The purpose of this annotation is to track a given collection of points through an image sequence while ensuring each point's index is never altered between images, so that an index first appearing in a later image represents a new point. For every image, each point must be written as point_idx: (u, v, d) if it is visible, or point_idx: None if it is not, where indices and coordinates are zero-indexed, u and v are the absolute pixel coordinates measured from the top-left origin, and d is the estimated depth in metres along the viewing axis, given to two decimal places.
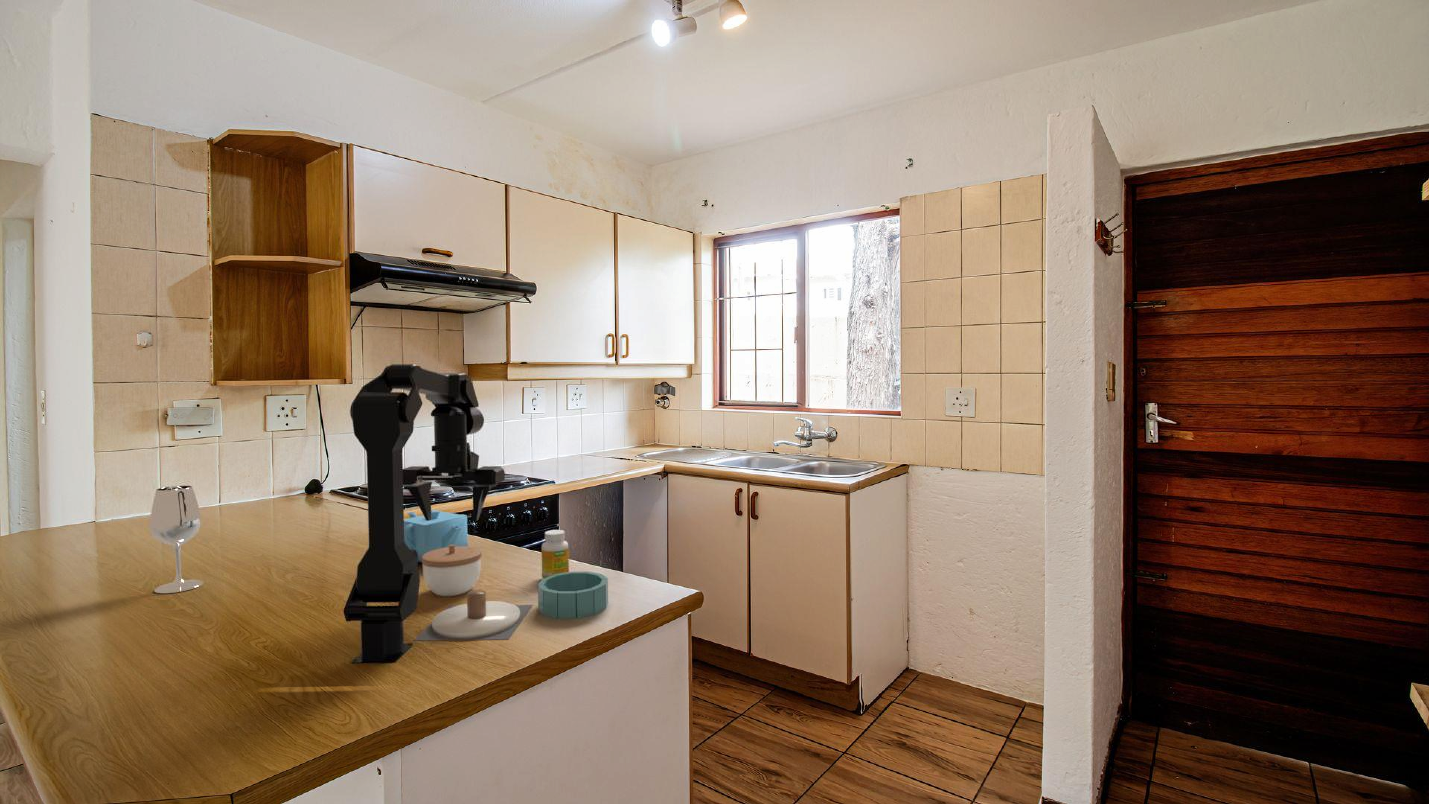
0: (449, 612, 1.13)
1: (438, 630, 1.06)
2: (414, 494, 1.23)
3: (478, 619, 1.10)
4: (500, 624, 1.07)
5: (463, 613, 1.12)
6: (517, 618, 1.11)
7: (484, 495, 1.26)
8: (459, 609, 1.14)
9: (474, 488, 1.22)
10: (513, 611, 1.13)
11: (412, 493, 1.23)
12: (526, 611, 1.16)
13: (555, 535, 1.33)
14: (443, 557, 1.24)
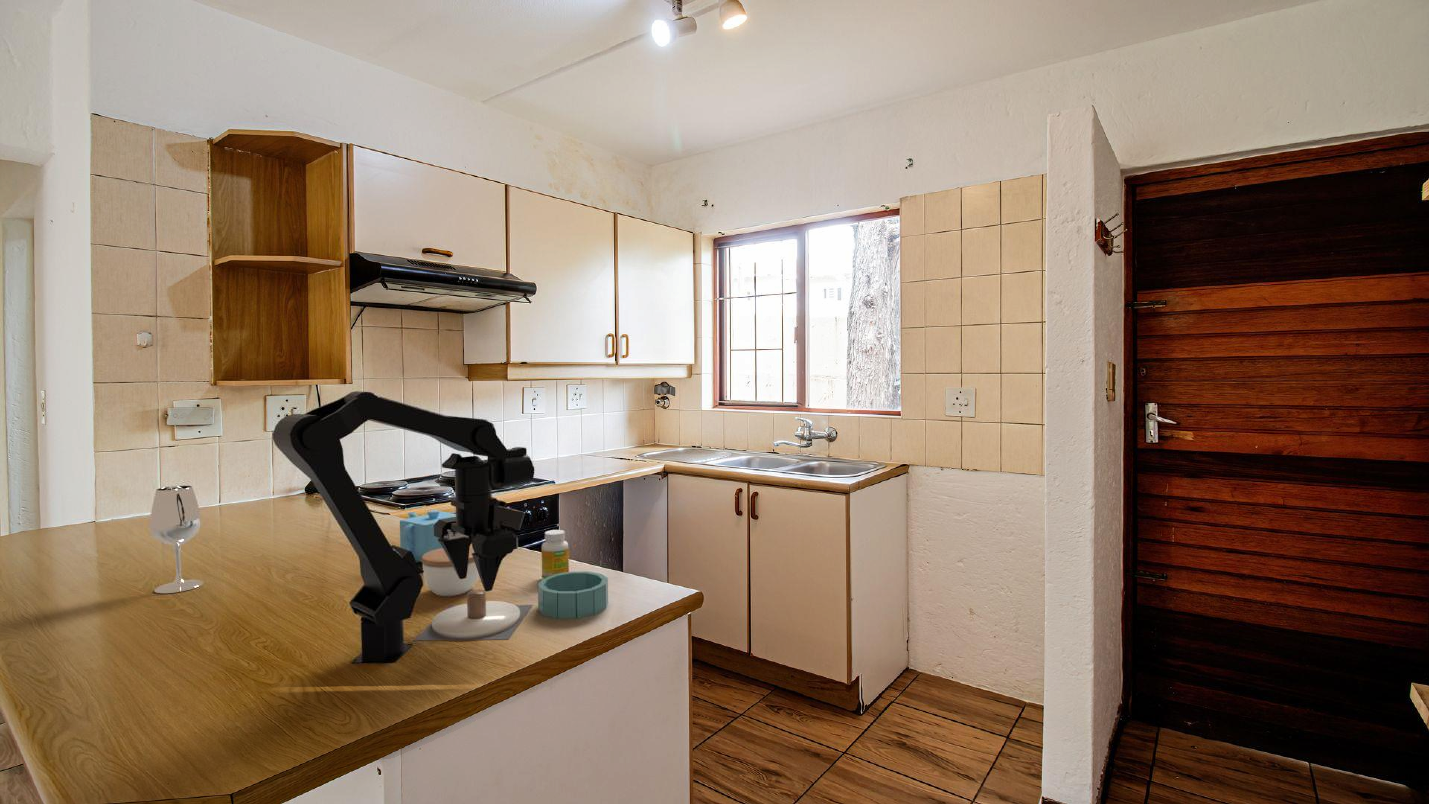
0: (449, 612, 1.13)
1: (438, 630, 1.06)
2: (444, 548, 1.13)
3: (478, 619, 1.10)
4: (500, 624, 1.07)
5: (463, 613, 1.12)
6: (517, 618, 1.11)
7: (496, 563, 1.07)
8: (459, 609, 1.14)
9: (473, 555, 1.05)
10: (513, 610, 1.13)
11: (443, 547, 1.13)
12: (526, 611, 1.16)
13: (555, 535, 1.33)
14: (443, 557, 1.24)
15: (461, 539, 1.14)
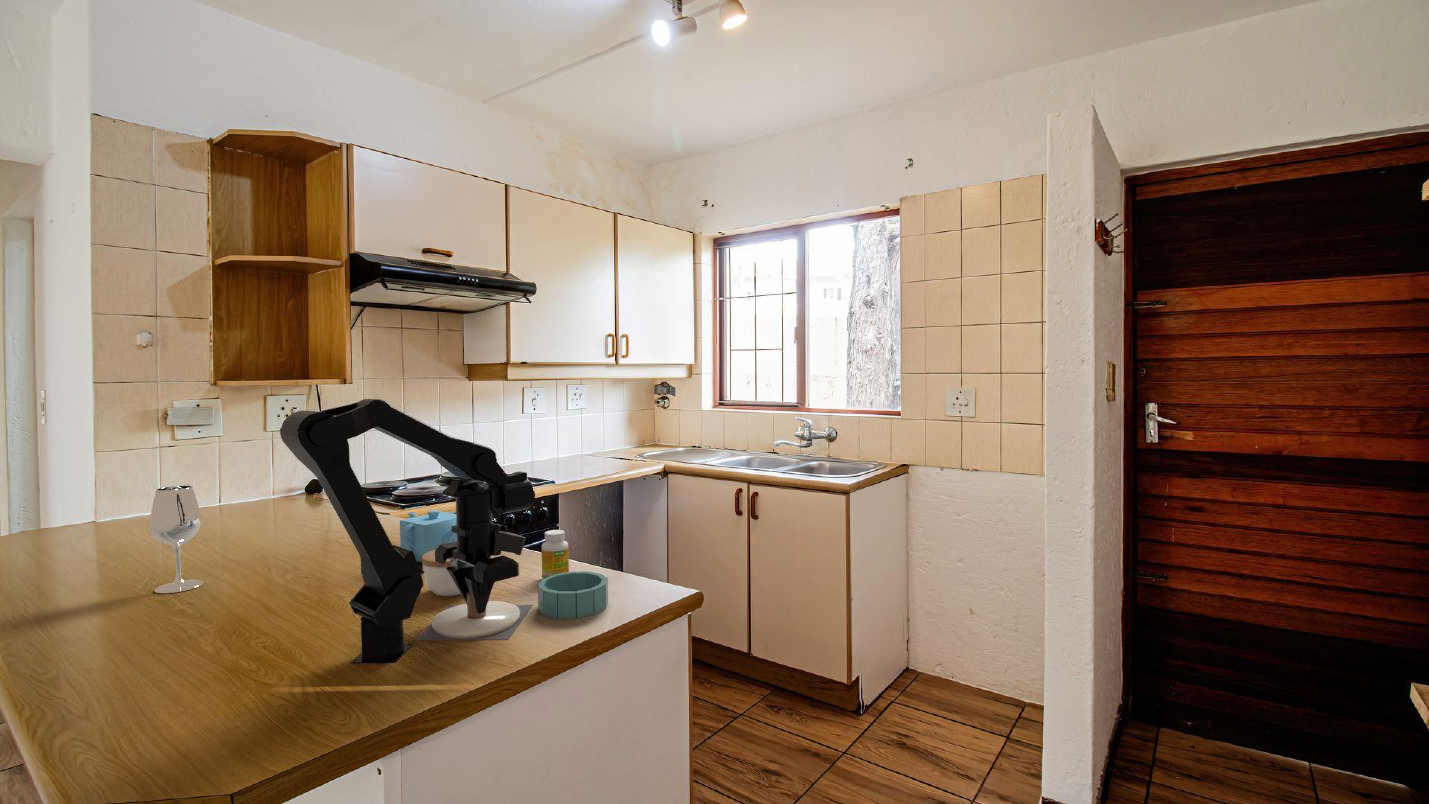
0: (449, 612, 1.13)
1: (438, 630, 1.06)
2: (453, 578, 1.11)
3: (478, 618, 1.10)
4: (500, 624, 1.07)
5: (463, 613, 1.12)
6: (517, 618, 1.11)
7: (488, 586, 1.09)
8: (459, 609, 1.14)
9: (465, 579, 1.07)
10: (513, 610, 1.13)
11: (451, 576, 1.11)
12: (526, 611, 1.16)
13: (555, 535, 1.33)
14: None
15: (470, 568, 1.12)
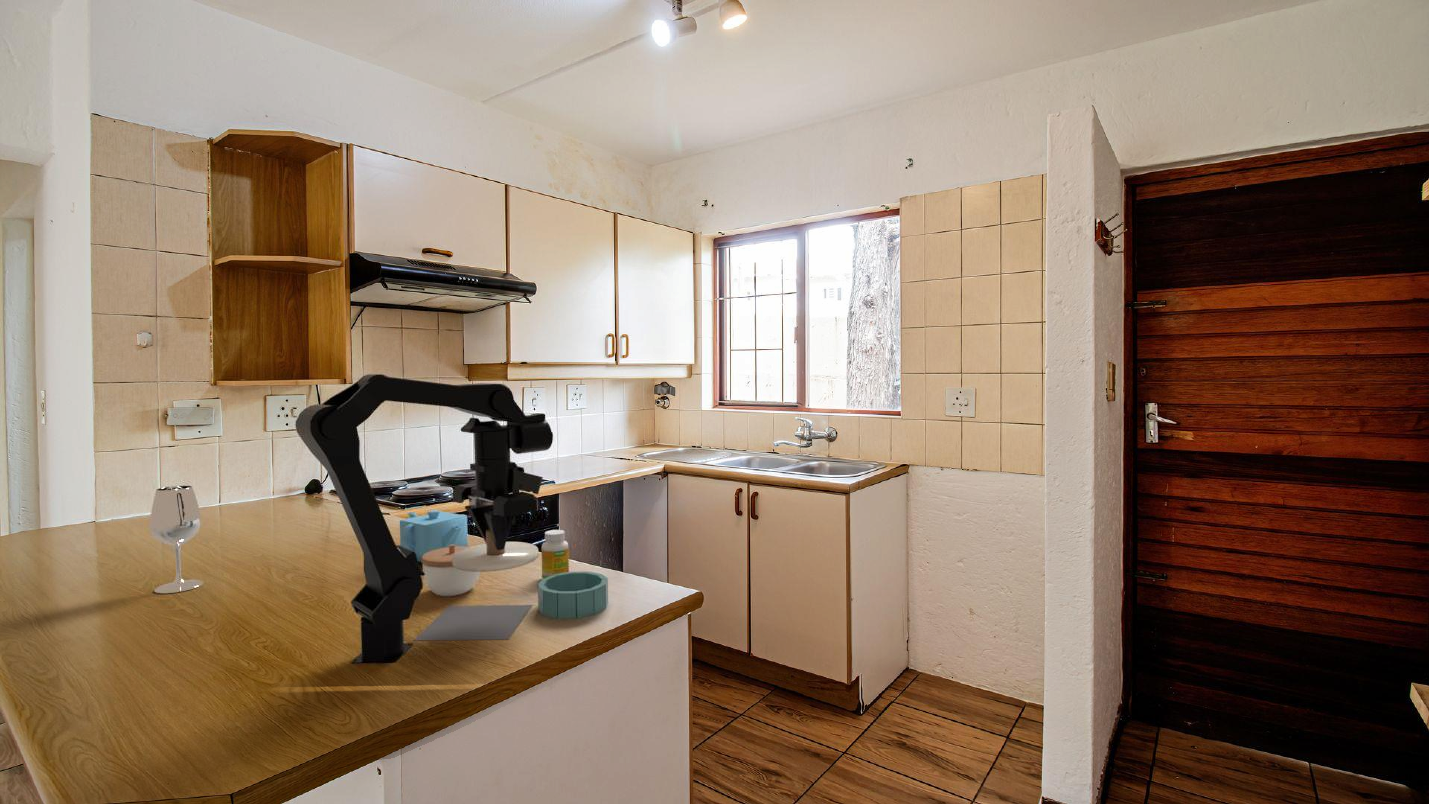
0: (468, 551, 1.14)
1: (459, 564, 1.07)
2: (472, 516, 1.12)
3: (497, 555, 1.11)
4: (520, 559, 1.08)
5: (482, 551, 1.13)
6: (536, 554, 1.12)
7: (507, 523, 1.10)
8: (477, 548, 1.15)
9: (485, 514, 1.08)
10: (531, 548, 1.14)
11: (470, 514, 1.12)
12: (526, 611, 1.16)
13: (555, 535, 1.33)
14: (443, 557, 1.24)
15: (488, 506, 1.13)
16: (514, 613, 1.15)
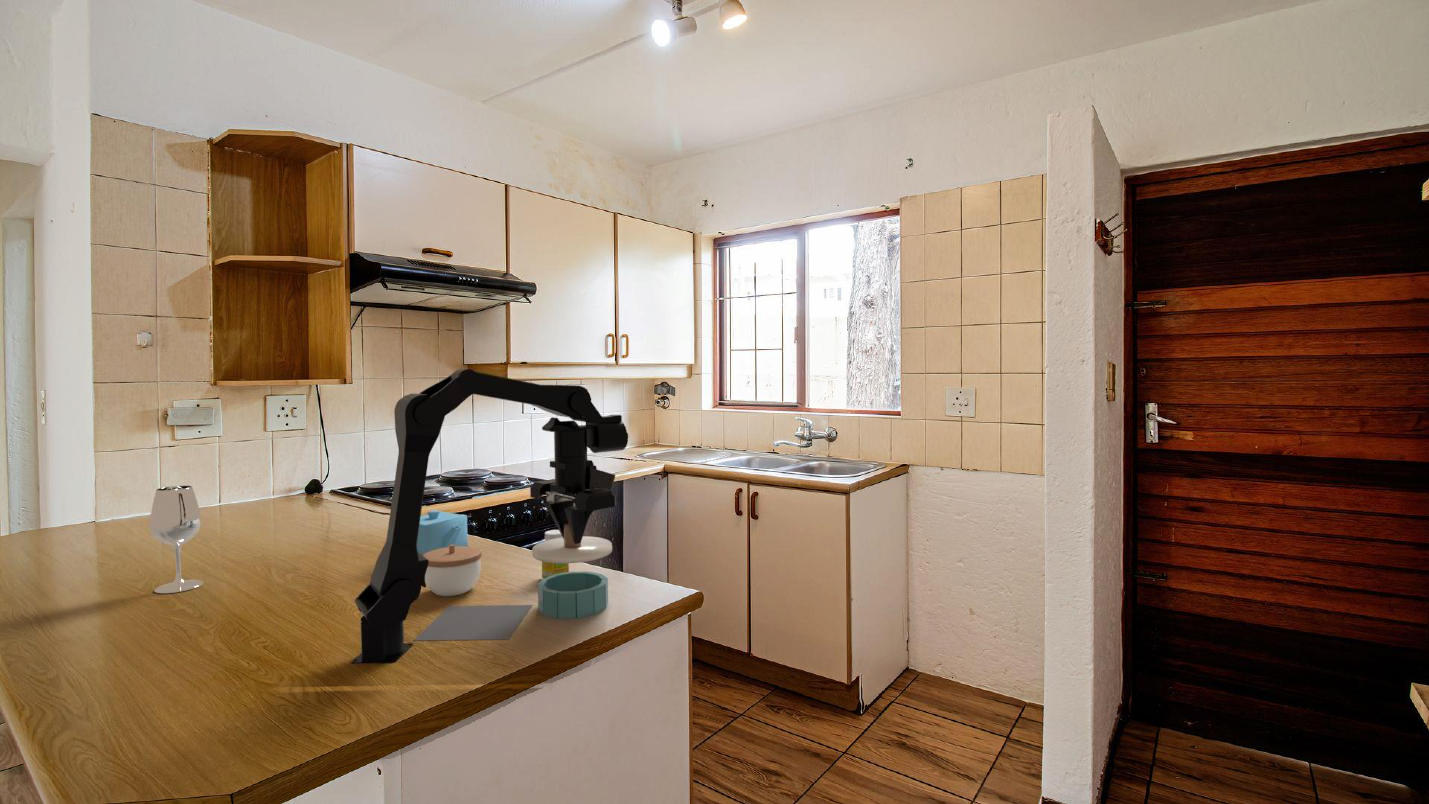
0: (545, 544, 1.19)
1: (541, 556, 1.12)
2: (550, 511, 1.18)
3: (575, 548, 1.17)
4: (598, 552, 1.14)
5: (559, 544, 1.19)
6: (611, 548, 1.18)
7: (585, 518, 1.16)
8: (553, 542, 1.21)
9: (565, 509, 1.14)
10: (605, 542, 1.20)
11: (548, 510, 1.18)
12: (526, 611, 1.16)
13: (555, 535, 1.33)
14: (443, 557, 1.24)
15: (565, 502, 1.19)
16: (514, 613, 1.15)
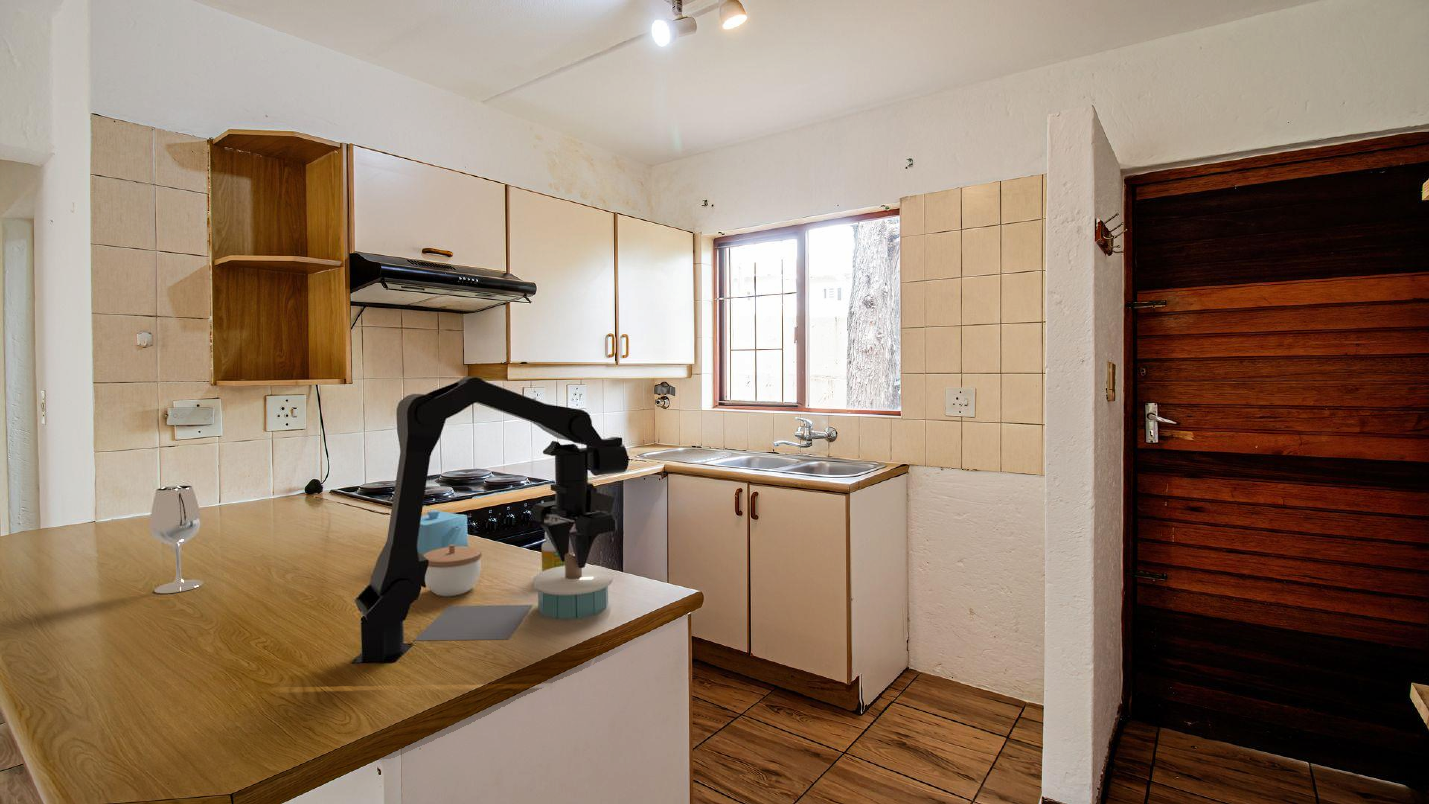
0: (546, 573, 1.20)
1: (542, 588, 1.13)
2: (547, 533, 1.19)
3: (576, 578, 1.17)
4: (598, 583, 1.14)
5: (560, 574, 1.19)
6: (612, 578, 1.18)
7: (589, 542, 1.16)
8: (554, 571, 1.21)
9: (570, 534, 1.13)
10: (606, 572, 1.20)
11: (546, 531, 1.19)
12: (526, 611, 1.16)
13: None
14: (443, 557, 1.24)
15: (562, 524, 1.20)
16: (514, 613, 1.15)
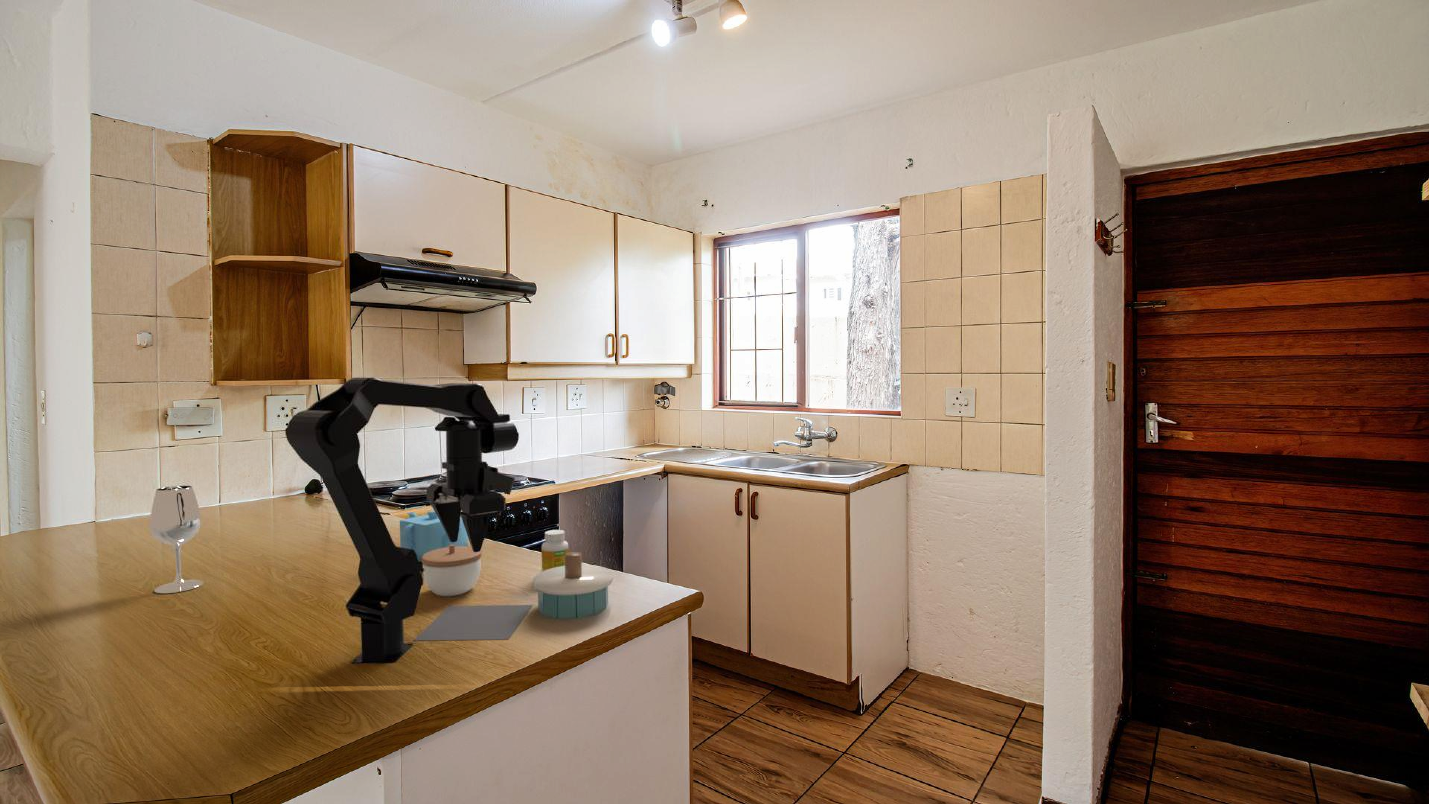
0: (546, 573, 1.20)
1: (542, 588, 1.13)
2: (436, 512, 1.15)
3: (576, 578, 1.17)
4: (598, 583, 1.14)
5: (560, 574, 1.19)
6: (611, 578, 1.18)
7: (484, 524, 1.09)
8: (554, 571, 1.21)
9: (461, 515, 1.07)
10: (606, 572, 1.20)
11: (434, 510, 1.15)
12: (526, 611, 1.16)
13: (555, 535, 1.33)
14: (443, 557, 1.24)
15: (453, 503, 1.16)
16: (514, 613, 1.15)
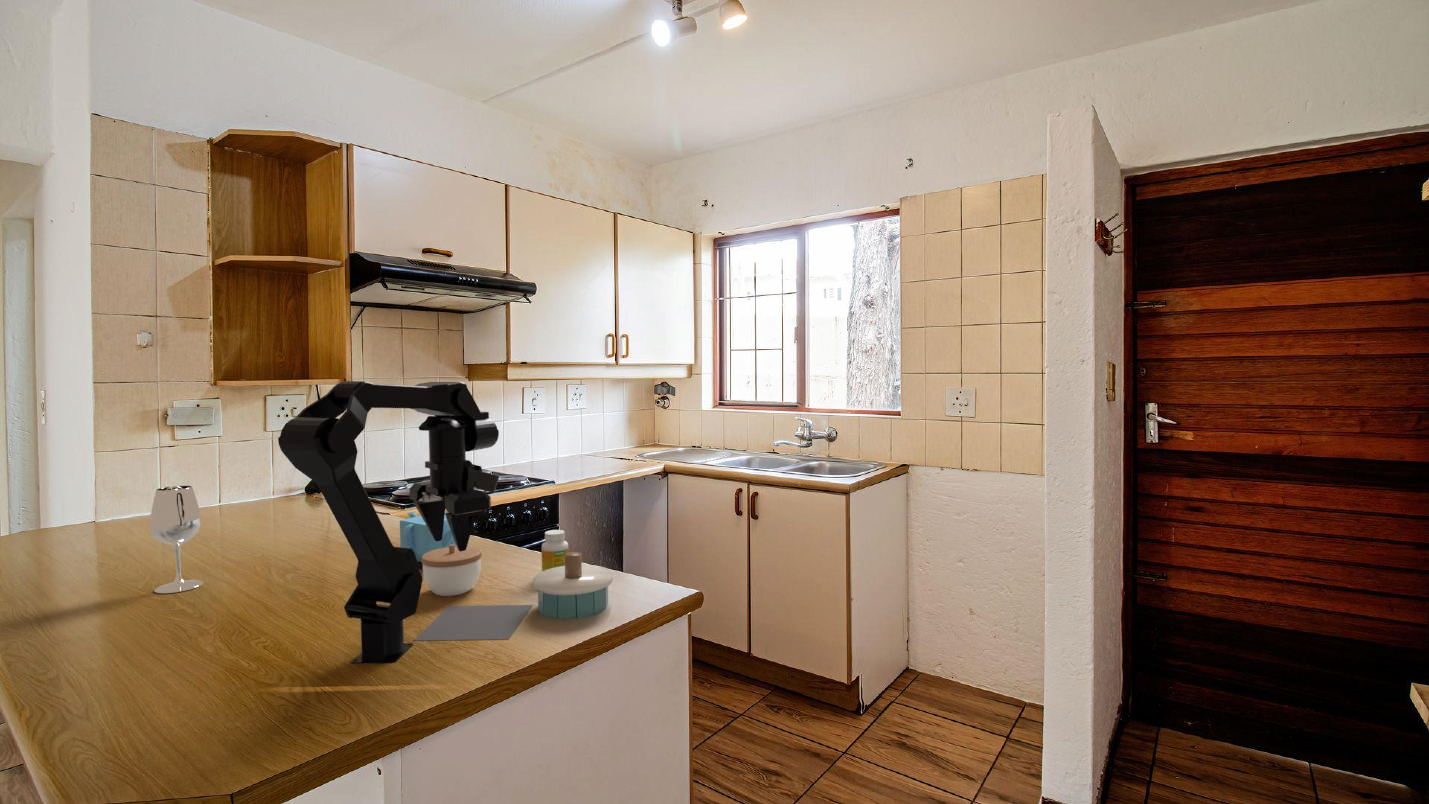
0: (546, 573, 1.20)
1: (542, 588, 1.13)
2: (419, 511, 1.15)
3: (576, 578, 1.17)
4: (598, 583, 1.14)
5: (560, 574, 1.19)
6: (611, 578, 1.18)
7: (469, 523, 1.09)
8: (554, 571, 1.21)
9: (446, 515, 1.06)
10: (606, 572, 1.20)
11: (418, 510, 1.15)
12: (526, 611, 1.16)
13: (555, 535, 1.33)
14: (443, 557, 1.24)
15: (436, 502, 1.16)
16: (514, 613, 1.15)
